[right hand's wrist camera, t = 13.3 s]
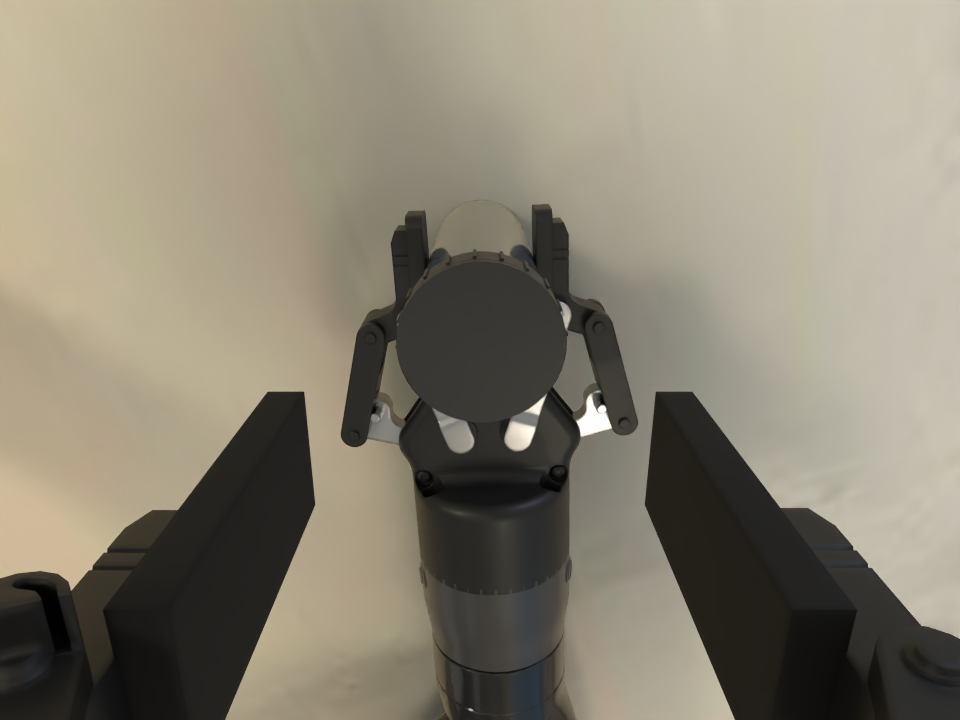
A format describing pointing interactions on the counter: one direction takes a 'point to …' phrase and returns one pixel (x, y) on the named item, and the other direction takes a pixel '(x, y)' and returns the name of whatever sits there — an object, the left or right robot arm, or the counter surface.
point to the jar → (481, 233)
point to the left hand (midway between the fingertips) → (479, 211)
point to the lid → (481, 337)
